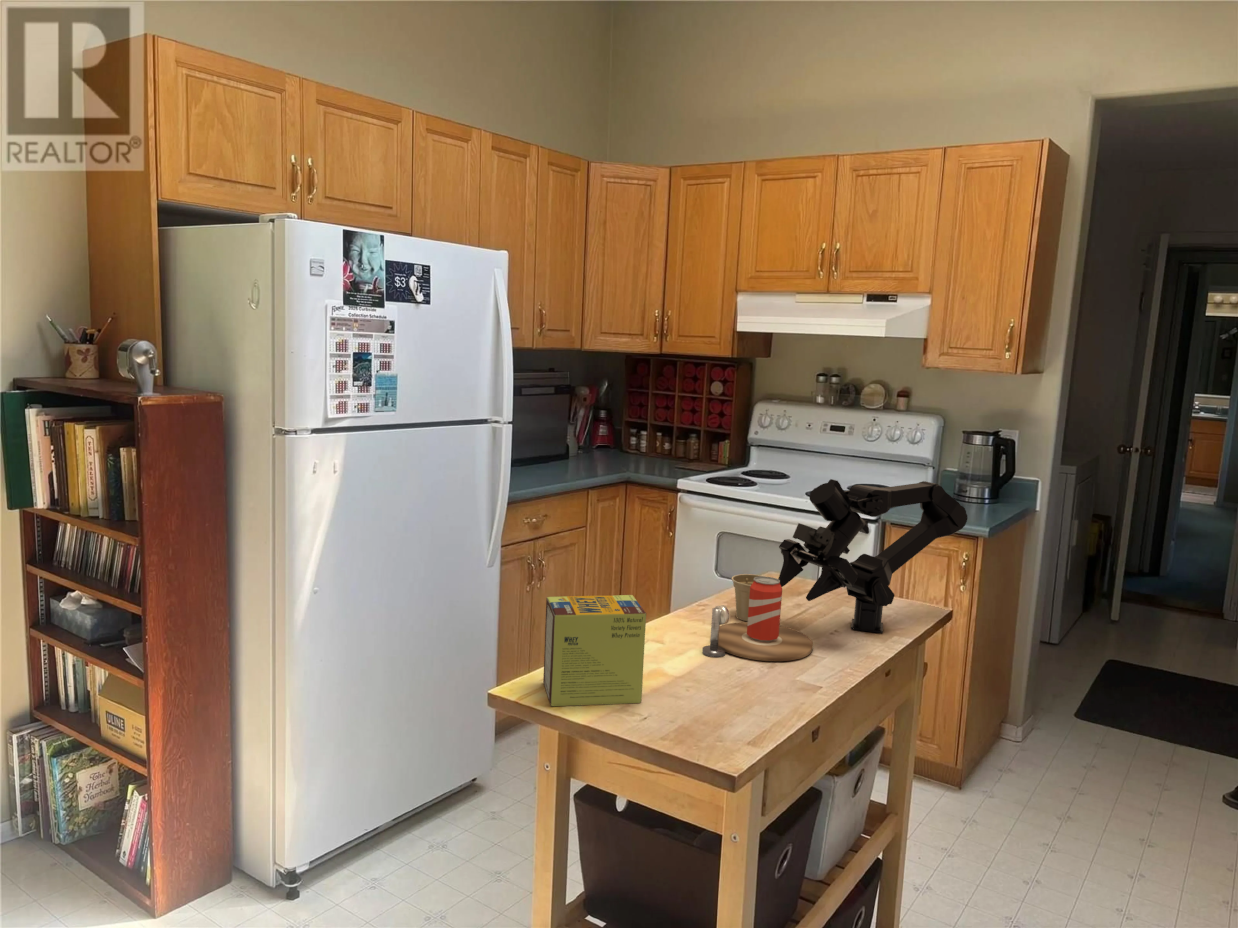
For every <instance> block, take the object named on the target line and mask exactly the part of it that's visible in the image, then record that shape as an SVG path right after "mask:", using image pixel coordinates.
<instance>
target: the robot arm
mask: <svg viewBox="0 0 1238 928" xmlns="http://www.w3.org/2000/svg"><path fill="white" fill-rule="evenodd" d="M809 501H810V503H812V505H813V506H814V508H815V509H816V510H817V512H818V513H819V514H820V516H821V517H822V518H823V520H824V521H826V522H829V524H828V525H827V526H826V527H824V526H821V525H820V526H819V527H818V528H814V527H811V526H808V525H805V524H802V523H799V522H797V526H796V528H795V531H794V533H793V535H792V538H793V539H794V540H792V539H790V538H788V539H783V540H782V542H781V543H780V544H779V545H778V548H779V550H780V554H781V555H782V557H783V562H782V567H781V570H780V573H779V575H778V578H777V579H778V580H780V585H781V587H782V588H783V587H785V586H786V585H787V584H788V583H790V582H791V581H792V580H793V579H794V578H796V577H797V576H798V575H799V574H801V573H802V572H803V571H804V568H803V567H805V566H807V565H808V564H809V563H810V564H812V565H815V566H817V567H820V568H821V573H820V576H819V577H818V578H817V580H816V581H815V583H814V584H813V586H812V587H811V588H810V589H809V591H808V592H807V594H806V596H805V599H806V601H808V602H811V601H813V600H815V599H817V598H819V597H821V596H823V595H826V594H828V593H831V592H833V591H836V590H838V589H840V588H845V589H846V592H847V595H848V596H850V597H852V598H855V600H854V601H855V602H854V603H855V604H854V613H853V614H854V616H853V618H852V619H851V623H850V624H851V625H850V629H851V630H854V631H861V632H868V633H869V632H870V633H878V634H883V633H884V623H883V621H882V619H883V610H884V609H883V608H884V607H887V606H888V605H892V603H893V601H894V599H895V598H894V597H896V596H895V593H894V592H893V591H892V589H891V588H890V587H889V586H890V584H891V581H892V576H893V574H894V573H895V572H897V571H898V570H899V569H901V567H903V566H904V565H905V564H906V563H907V562H909V561H911V560H912V559H913V558H914V557H916V555H918V554H919V553H921V551H923V550H924V549H925V548H926V547H928V546H929V545H930V544H931V543H932V542H934V541H935V540H936V539H939V538H944V537H948V536H952V535H954V534H956V533H957V532H959V531H961V530H962V529H963V528H964V527H965V526H966V524H967V522H968V514H967V510H966V508H965V507H964V506H963V505H961V504H960V503H959V502H958V500H956V499H955V498H954V497H952V496H951V495H950V494H948V493H947V492H946V490H945V489H944V488H943V487H942V486H941V485H940V484H938V483H934V482H930V481H925V480H923V481H920V482H916V483H908V484H902V485H894V486H887V487H878V486H871V485H862V484H854V485H853V486H851V487H850V489H848V490H844V489H843V488H842V485H841V483H840V482H839V480H836V479H831V478H830V479H829V480H828V481H827V482H825V483H822V484H820V485H818V486H817V487H815V488H813V489H812V491H810V494H809ZM917 504H919V508H920V509H921V511H922V513H921V517H920V520H919V522H918V523H917V524H915V525H914V526H913V527H911V528H910V529H908V531H906V532H905V533H904V534H903V535H901V536H900V537H899V538H898V539H896V540H895V541H893V542H892V543H891V544H890V545H889V546H888V547H886V548H885V549H883V550H882V551H881V552H880V553H878V554H877V555H876V556H873V555H870V554H866V553H862V554H860V555H859V556H858V557H857V558H856V559H855V560H854V561H851V562H849V561H848V559H846V558H844V557H840V556H842V554H846V555H848V554H849V552H850V549H849V545H850V544H851V543H852V542H853V540H854V539H855V538H856V537H857V536H858V534H859V533H861V534H865V535H868V534H869V533H870V526H869V520H867V519H863V518H862V517H861V516H860V515H864V516H867V517H870V518H871V517H873V518H875V517H880V516H881V515H883V514H887V513H888V512H889V511H890V509H892V508H897V507H904V506H911V505H917ZM796 540H799V541H801V542H803V545H802V544H801V543H800V542H799V541H798V542H797V541H796ZM803 546H804V547H805V548H804V547H803ZM806 549H807V550H808V551H806Z"/></svg>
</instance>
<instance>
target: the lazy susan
mask: <svg viewBox="0 0 1238 928" xmlns="http://www.w3.org/2000/svg"><path fill="white" fill-rule="evenodd" d="M747 623H748V621H740V622H732V623H727V624H723V625H720V630H719V645H718V646H720V647H722V648H724V649H725V653H728V654H730V655H733V656H736V657H740V658H743V659H749V660H755V661H763V662H764V661H765V662H789V661H797V660H800V659H803V658H805V657H807V656H809V655H811V653H812V652H813V649H814V648H813V647H814V642H813V640H812V639H811V638H810V637H809V636H808V635H807V634H805V633H803V632H801V631H799V630H797V629H793V628H791V627H787V626H783V625H780V626H779V636H778V638H777V639H774V640H773V641H771V642H759V641H756V640H753V639H752V638H751V637H750V636H749V635H747Z"/></svg>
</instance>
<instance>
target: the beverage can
mask: <svg viewBox="0 0 1238 928" xmlns="http://www.w3.org/2000/svg"><path fill="white" fill-rule="evenodd" d="M765 576H766V575H761V576H760V577H755V578H754V582H753V583H752V585H751V586H750V596H749V609H748V620H747V622H748V623H747V635H749V636H750V637H751V638H752V639H753V640H756V641H759V642H771V641H773V640H774V639H777V638H778V636H779V626H781V625H780V623H781V613H782V600H783V599H782V598H783V587H781V585H780V580H778V578H776V577H773V576H772V577H771V576H766V577H765Z"/></svg>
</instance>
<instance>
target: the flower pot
mask: <svg viewBox="0 0 1238 928" xmlns="http://www.w3.org/2000/svg"><path fill="white" fill-rule="evenodd" d="M760 576H762V575H761V574H753V573H752V574H749V573H742V574H735V575H732V577H731V581H732V582H733V583H732V584H733V587H734V596H735V597H734V598H735V613H736V616H735V617H736V618H737V619H739V620H741V621H742V622H748V609H749V596H750V586H751V585H752V583H753V582H754V578H755V577H760ZM764 576H765V577H767V576H766V575H764Z"/></svg>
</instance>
